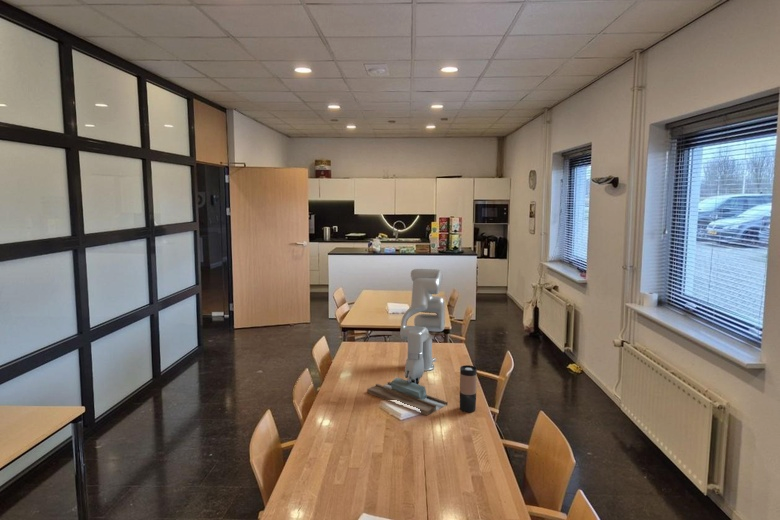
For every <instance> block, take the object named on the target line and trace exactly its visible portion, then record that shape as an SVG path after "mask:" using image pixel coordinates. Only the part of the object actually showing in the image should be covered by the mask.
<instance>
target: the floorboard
mask: <svg viewBox="0 0 780 520" xmlns="http://www.w3.org/2000/svg"><path fill="white" fill-rule="evenodd" d="M391 382H392V381H387V384H384V385H382V384H379V383H375V385H374V386H371V387H370V388H367V390H366V391H367V392H366V393H367V394H369V395H372V396H374V397H377V398H380V399H383V400H385V401H387V400H397V401H400V402H402V403H404V404H407V405H410V406H413V407H416V408H418V409H420V411H421V413H420V414H422V415H425V416H429V415H431V414H433V413H435V412H437V411H439V410H440V409H442V408H444V407H446V406H448V401H445V400H442V399H440V398H436V397H434V396H431V395H428V394H427V397H426V398H425V399H424V400H421V399H418V398H416V397H413V396H410V395H407V394H404V393H402V392H399V391H396V390H393V389H392V387H391Z"/></svg>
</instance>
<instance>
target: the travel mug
mask: <svg viewBox="0 0 780 520" xmlns="http://www.w3.org/2000/svg"><path fill="white" fill-rule="evenodd" d="M459 369H460V370H459V371H460V372H459V410H460V412H463V413H467V414H468V413H469V414H471V413H475V412H476V409H477V408H476V403H477V388H478V387H477V383H478V382H477V380H478V379H477V377H478V374H477V373H478V372H477V371H478V368H477V367H476V366H473V365H466V364H465V365H462V366H460V367H459Z"/></svg>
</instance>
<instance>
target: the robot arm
mask: <svg viewBox="0 0 780 520" xmlns="http://www.w3.org/2000/svg"><path fill="white" fill-rule="evenodd" d="M410 277H411V281H412V288H411V289H412V291H411V305H410V307H408V309H407V310H406V311H405V312H404V314H403V315H402V317H401V320H400V321H401V322H400V332H399V333H400V339H401V340H402V341H405V342H407V358H406V361H405V368H404V378H406V381H407V382H412V383H415V384H418V385H419V383H420V379H421V378H423V376H424V373H425V372H428V371H429V372H430V371H432V370H435V364H433V363H434V362H436V361H437V358H436V357H434V358H433V337H432V335H431V334H430V332H437V333H438V332H443V331H444V330H445V325H446V317H445V316H446V304H445V303H446V302H445V298H443V297H442V296H438V295H439V294H440V293H441V290H442V285H443V284H442V283H443V272H442V271H441V270H440V269H437V268H436V269H435V268H434V269H432V268H415V269H412V270H411V272H410ZM433 295H434V296H433ZM436 295H437V296H436ZM419 313H420V314H419ZM425 313H426V314H425ZM414 315H415V317H414V320H413V322H414V323H413V324H414V325H407V323H408V321H409V319H410V318H411V317H412V316H414Z"/></svg>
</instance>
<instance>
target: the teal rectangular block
mask: <svg viewBox="0 0 780 520" xmlns="http://www.w3.org/2000/svg"><path fill="white" fill-rule="evenodd" d="M390 382H391V387H392V389H393V390H396V391H399V392H402V393H404V394H407V395H410V396H413V397H416V398H418V399H421V400H424V399H425V398H426V397H427V395H428V394H427V390H426V386H424V385H421V384H419V383H418V384H415V383H412V382H407V379H404V378H403V379H402V378H400V377H395V378H394V379H393V380H392V381H390Z"/></svg>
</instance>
